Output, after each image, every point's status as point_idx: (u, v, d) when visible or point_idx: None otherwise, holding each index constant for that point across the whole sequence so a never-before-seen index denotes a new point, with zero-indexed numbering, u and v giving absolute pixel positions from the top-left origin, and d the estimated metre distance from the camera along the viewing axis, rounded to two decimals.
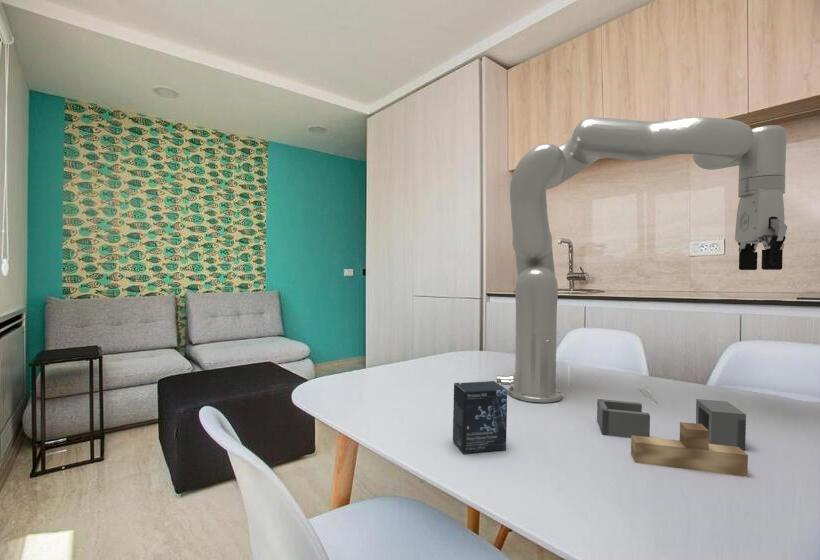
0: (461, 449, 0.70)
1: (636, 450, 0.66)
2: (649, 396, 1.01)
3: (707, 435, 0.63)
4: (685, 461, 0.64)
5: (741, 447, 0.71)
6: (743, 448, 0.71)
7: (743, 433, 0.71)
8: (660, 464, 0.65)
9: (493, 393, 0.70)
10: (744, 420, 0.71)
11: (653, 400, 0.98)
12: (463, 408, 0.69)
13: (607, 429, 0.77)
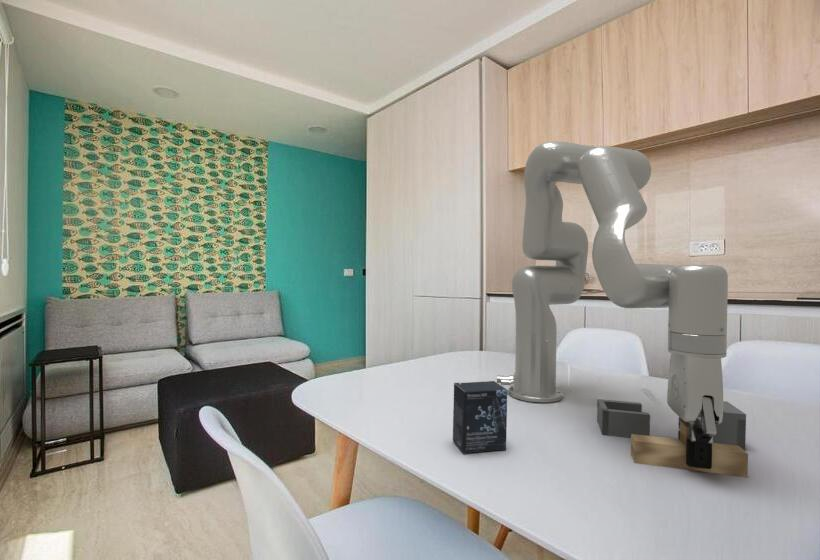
0: (461, 449, 0.70)
1: (636, 449, 0.66)
2: (652, 396, 1.01)
3: None
4: (685, 460, 0.64)
5: (741, 447, 0.71)
6: (743, 448, 0.71)
7: (743, 433, 0.71)
8: (660, 463, 0.65)
9: (493, 393, 0.70)
10: (744, 420, 0.71)
11: (656, 400, 0.98)
12: (463, 408, 0.69)
13: (607, 429, 0.77)
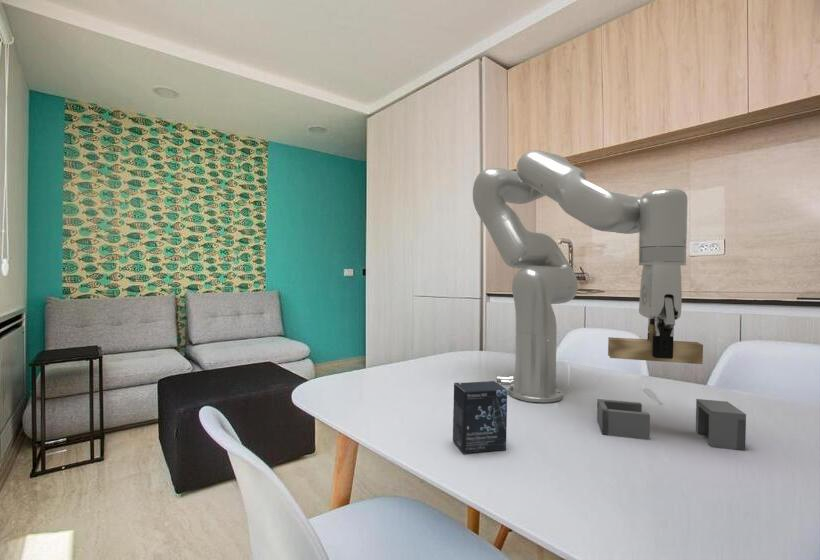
0: (461, 449, 0.70)
1: (611, 346, 0.79)
2: (653, 396, 1.01)
3: None
4: None
5: (741, 447, 0.71)
6: (743, 448, 0.71)
7: (743, 433, 0.71)
8: (631, 357, 0.78)
9: (493, 393, 0.70)
10: (744, 420, 0.71)
11: (657, 400, 0.98)
12: (463, 408, 0.69)
13: (607, 429, 0.77)
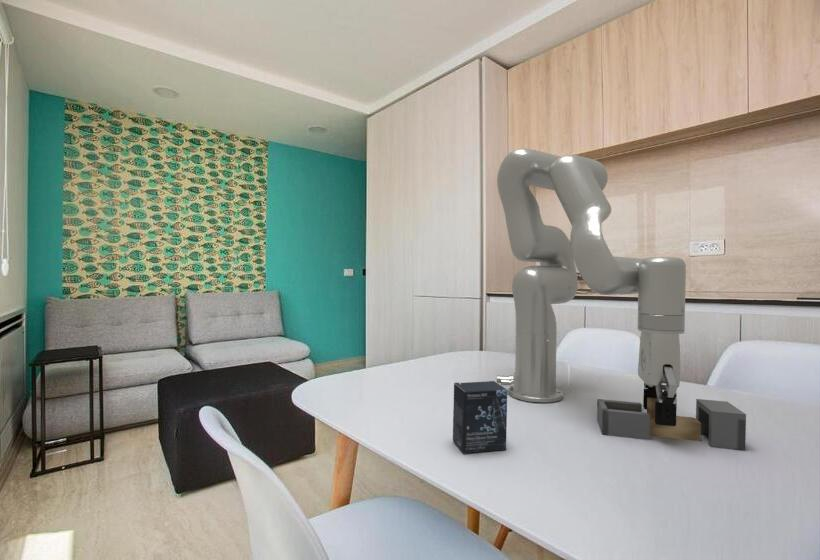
0: (461, 449, 0.70)
1: None
2: None
3: None
4: (650, 429, 0.77)
5: (741, 447, 0.71)
6: (743, 448, 0.71)
7: (743, 433, 0.71)
8: None
9: (493, 393, 0.70)
10: (744, 420, 0.71)
11: None
12: (463, 408, 0.69)
13: (607, 429, 0.77)
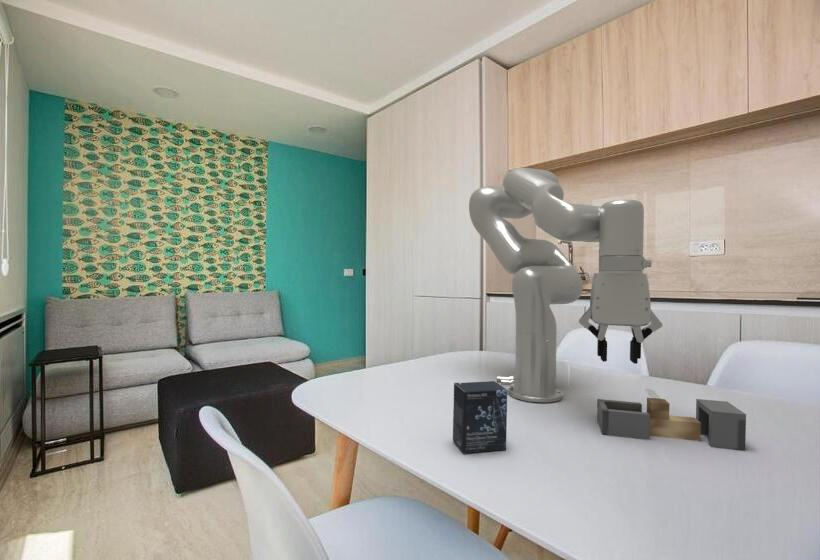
0: (461, 449, 0.70)
1: None
2: (656, 397, 1.01)
3: (668, 407, 0.76)
4: (650, 429, 0.77)
5: (741, 447, 0.71)
6: (743, 448, 0.71)
7: (743, 433, 0.71)
8: None
9: (493, 393, 0.70)
10: (744, 420, 0.71)
11: None
12: (463, 408, 0.69)
13: (607, 429, 0.77)
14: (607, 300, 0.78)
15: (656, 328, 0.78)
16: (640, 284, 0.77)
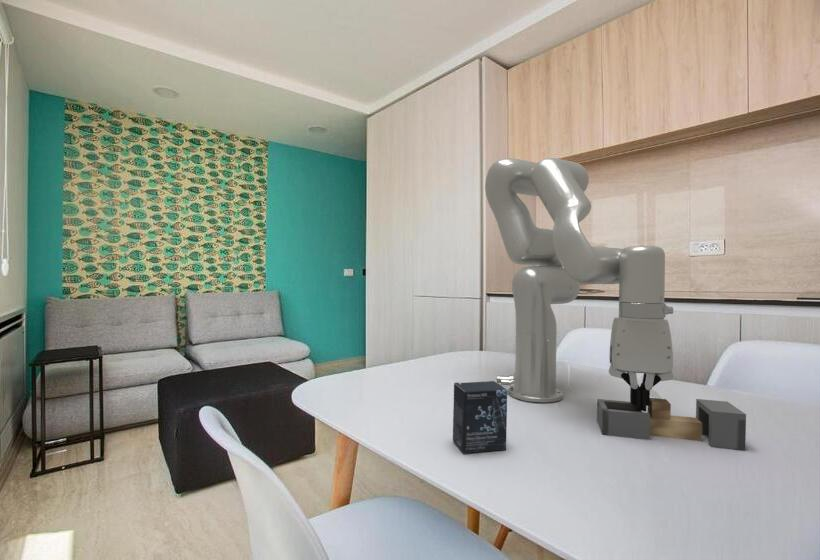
0: (461, 449, 0.70)
1: None
2: (657, 397, 1.01)
3: (669, 407, 0.76)
4: (652, 429, 0.77)
5: (741, 447, 0.71)
6: (743, 448, 0.71)
7: (743, 433, 0.71)
8: None
9: (493, 393, 0.70)
10: (744, 420, 0.71)
11: None
12: (463, 408, 0.69)
13: (607, 429, 0.77)
14: (628, 347, 0.77)
15: (665, 379, 0.77)
16: (662, 332, 0.76)
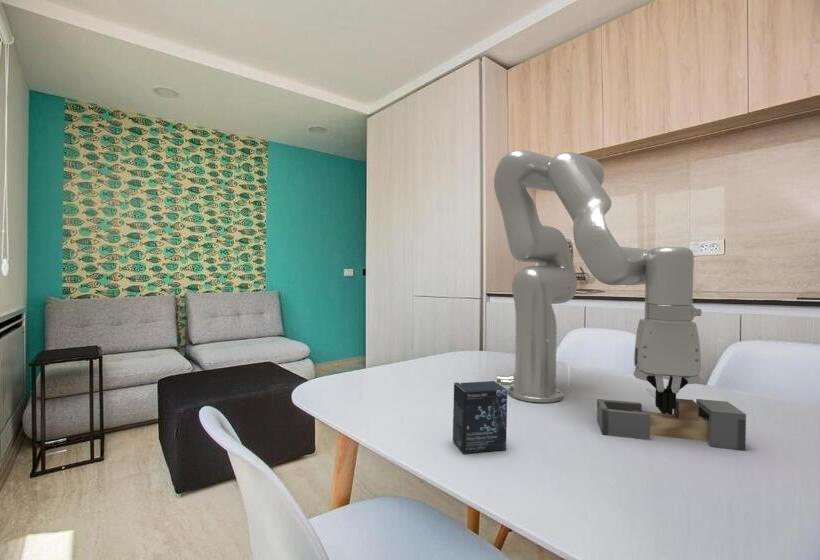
0: (461, 449, 0.70)
1: None
2: None
3: (696, 408, 0.75)
4: (678, 430, 0.76)
5: (741, 447, 0.71)
6: (743, 448, 0.71)
7: (743, 433, 0.71)
8: (657, 433, 0.77)
9: (493, 393, 0.70)
10: (744, 420, 0.71)
11: None
12: (463, 408, 0.69)
13: (607, 429, 0.77)
14: (655, 350, 0.76)
15: (692, 382, 0.76)
16: (690, 335, 0.74)
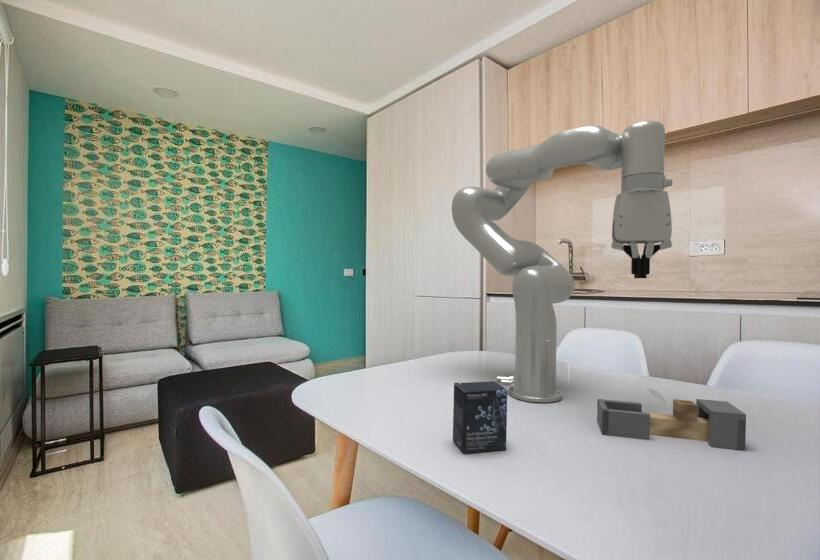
0: (461, 449, 0.70)
1: None
2: (660, 397, 1.01)
3: (695, 409, 0.75)
4: (677, 431, 0.76)
5: (741, 447, 0.71)
6: (743, 448, 0.71)
7: (743, 433, 0.71)
8: (656, 434, 0.77)
9: (493, 393, 0.70)
10: (744, 420, 0.71)
11: (664, 401, 0.98)
12: (463, 408, 0.69)
13: (607, 429, 0.77)
14: (630, 218, 0.82)
15: (665, 247, 0.82)
16: (662, 201, 0.81)
